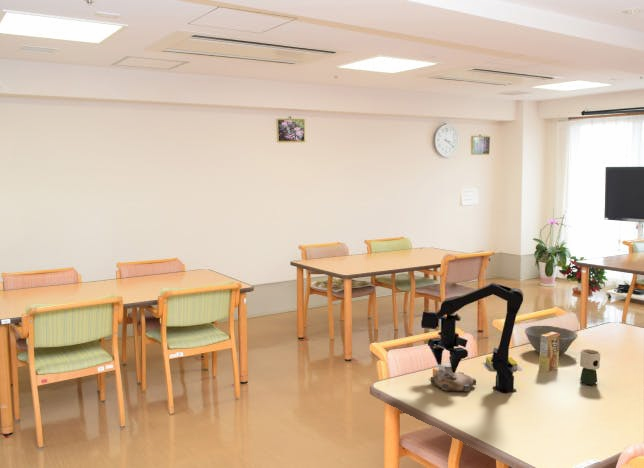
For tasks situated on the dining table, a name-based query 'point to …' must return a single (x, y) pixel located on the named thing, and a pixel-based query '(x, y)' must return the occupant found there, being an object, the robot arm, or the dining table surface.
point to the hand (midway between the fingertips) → (446, 368)
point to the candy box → (549, 351)
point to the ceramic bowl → (537, 331)
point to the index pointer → (435, 371)
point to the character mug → (589, 365)
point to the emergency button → (489, 366)
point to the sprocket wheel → (453, 381)
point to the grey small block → (446, 369)
